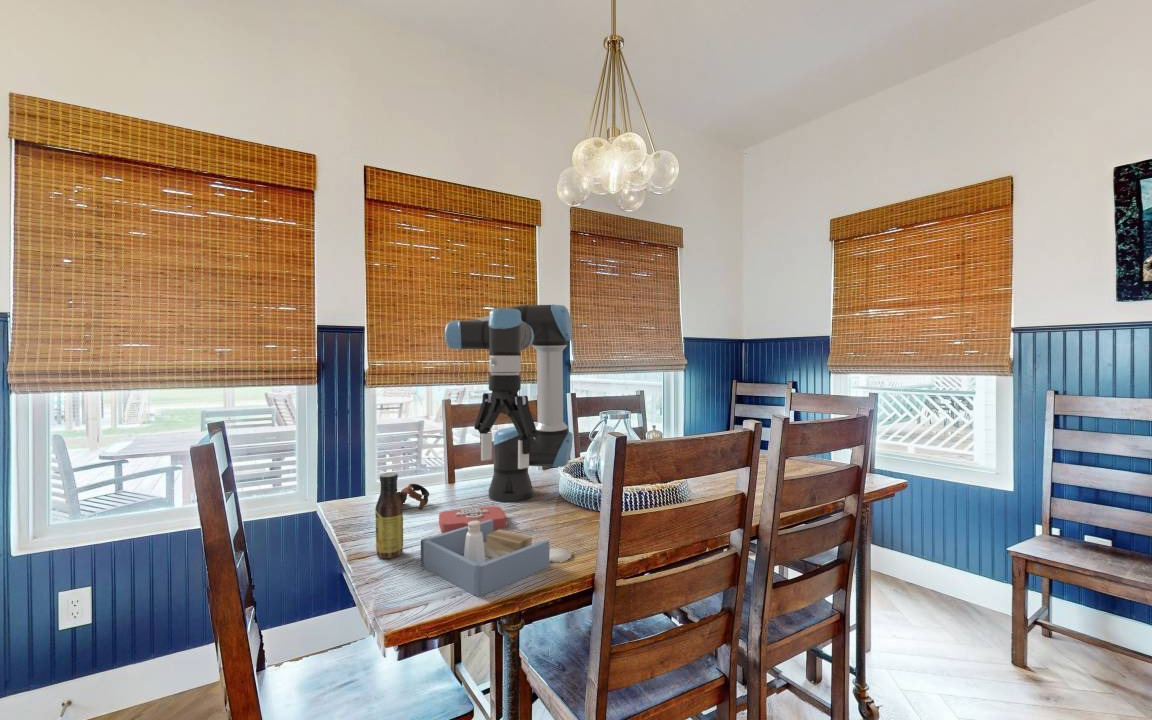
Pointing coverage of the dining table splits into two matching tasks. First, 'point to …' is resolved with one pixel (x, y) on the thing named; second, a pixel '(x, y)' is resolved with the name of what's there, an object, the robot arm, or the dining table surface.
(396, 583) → the dining table surface
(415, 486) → the coiled leather belt
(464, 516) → the plaque
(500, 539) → the oak offcut
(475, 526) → the pepper shaker
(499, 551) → the birch offcut
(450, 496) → the dining table surface
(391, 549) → the sauce bottle
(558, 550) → the stone coaster
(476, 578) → the tray
